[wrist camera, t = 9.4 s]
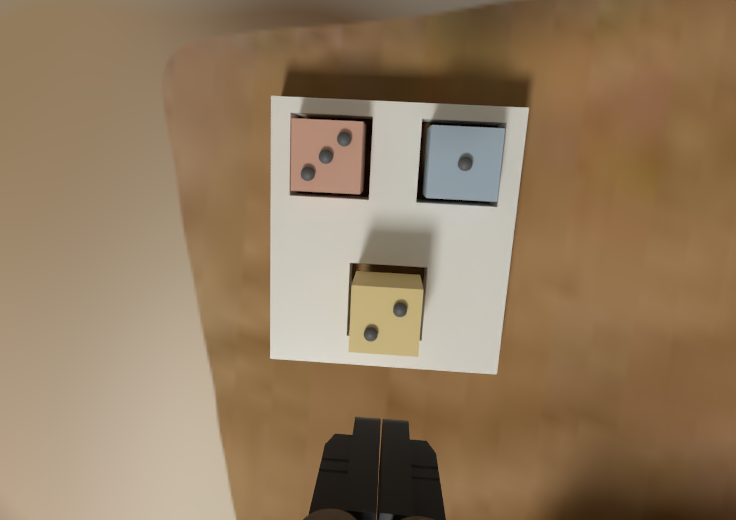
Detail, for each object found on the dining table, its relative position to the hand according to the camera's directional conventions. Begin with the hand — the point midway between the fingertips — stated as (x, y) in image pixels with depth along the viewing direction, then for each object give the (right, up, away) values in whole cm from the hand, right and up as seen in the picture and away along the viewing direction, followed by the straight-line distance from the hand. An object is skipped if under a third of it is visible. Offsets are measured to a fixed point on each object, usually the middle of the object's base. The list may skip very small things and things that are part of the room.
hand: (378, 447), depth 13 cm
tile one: (+5, +11, +13) cm, 17 cm away
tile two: (+1, +3, +13) cm, 14 cm away
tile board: (+1, +7, +15) cm, 16 cm away
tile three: (-2, +11, +13) cm, 17 cm away
